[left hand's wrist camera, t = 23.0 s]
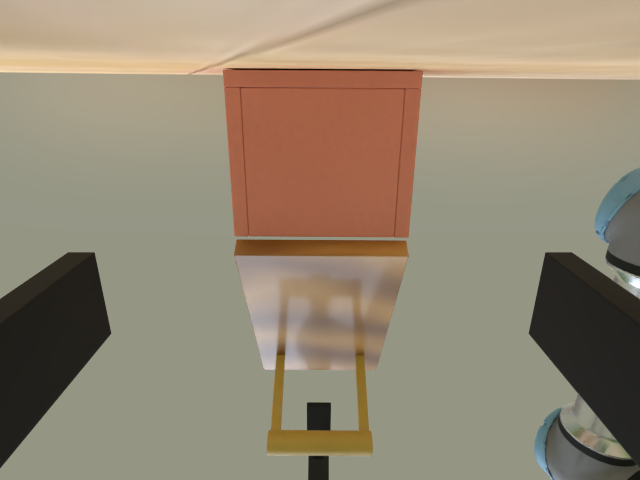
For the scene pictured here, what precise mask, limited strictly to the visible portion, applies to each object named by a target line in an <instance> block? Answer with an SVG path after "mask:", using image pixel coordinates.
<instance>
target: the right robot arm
mask: <svg viewBox="0 0 640 480" xmlns="http://www.w3.org/2000/svg"><path fill="white" fill-rule="evenodd" d="M595 229H596V230H597V231H596V234H597V235H598V237H599V238H600V239H602V240H603V241H604V242H606V243H609V246H608V250H607V254H606V257H605V261H606V263H607V264H608V265H609V267H610V268H611V269H612V270H613V272H614V275H613V278H612V280H613V281H614V282H616V283H617V284H619V285H620V286H622V287H623V288H624V289H626V290H627V291H629V292H630V293H632V294H633V295H635V296H636V297H638V298H639V299H640V168H637V169H635V170H633V171H631V172H629V173H628V174H626V175H625V176H623V177H622V178H621V179H620V180H619V181H618V182H617V183H616V184H615V185H614V186H613V187H612V188H611V189H610V190H609V192H608V193H607V194H606V196H605V197H604V199H603V201H602V203H601V205H600V207H599V209H598V212H597V214H596V218H595ZM330 420H331V403H307V430H330ZM534 451H535V457H536V460H537V462H538V464H539V465H540V467H541V468H542V469H543V470H544V471H545V472H546V473H547V474H548V475H549V476H550V478H551V479H552V480H640V468H639V467H638V465H637V464H636V463H635V462H634V461H633V459H632V458H631V457H630V456H629V455H628V453H627V452H626V451H625V450H624V448H623V447H622V446H621V445H620V444H619V442H618V441H617V440H616V439H615V438H614V436H613V435H612V434H611V433H610V431H609V430H608V429H607V428H606V427H605V425H604V424H603V423H602V422H601V421H600V419H599V418H598V417H597V416H596V415H595V413H594V412H593V411H592V410H591V408H590V407H589V406H588V405H587V404H586V402H585V401H584V400H583V399H582V398H581V396H580V395H579V394H577V397H576V401H575V402H574V403H570V404H567V405H565V406H564V407H562V408H559V409H556V410H555V411H553V412H552V413H550V414H549V415H548V416H547V417H546V419H545V420H544V425H543V426H540V428H539V430H538V432H537V435H536V438H535V445H534ZM308 470H309V471H308V480H329V456H309V469H308Z"/></svg>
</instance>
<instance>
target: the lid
mask: <svg viewBox="0 0 640 480" xmlns="http://www.w3.org/2000/svg"><path fill="white" fill-rule="evenodd" d="M234 256H235V260H236V264H237V268H238V272H239V276H240V279H241V283H242V287H243V291H244V295H245V299H246V302H247V306H248V310H249V314H250V318H251V321H252V325H253V329H254V333H255V337H256V340H257V344H258V348H259V352H260V356H261V360H262V363H263V367H264V369H267V370H275V380H274V393H273V407H272V421H271V430H269V432H268V438H267V454H268V455H288V456H372V452H373V443H372V433H371V431H369V424H368V408H367V392H366V376H365V370H376V369H377V365H378V362H379V358H380V355H381V351H382V348H383V344H384V341H385V337H386V334H387V330H388V327H389V323H390V320H391V316H392V313H393V309H394V306H395V302H396V299H397V295H398V292H399V288H400V285H401V281H402V278H403V274H404V271H405V267H406V264H407V260H408V257H409V255H408V249H407V242H406V241H369V240H237V241H236V246H235V253H234ZM284 370H356V382H357V403H358V424H359V431H332V430H281V418H282V402H283V385H284Z"/></svg>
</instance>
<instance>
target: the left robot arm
mask: <svg viewBox="0 0 640 480" xmlns="http://www.w3.org/2000/svg"><path fill="white" fill-rule="evenodd" d="M110 334H111V330H110V325H109V321H108V316H107V311H106V306H105V301H104V296H103V292H102V286H101V282H100V277H99V272H98V267H97V262H96V258H95V253H94V252H93V253H91V252H79V253H77V252H75V253H74V252H68V253H67V254H65V255H64V256H62V257H61V258H59V259H58V260H56V261H55V262H54V263H52V264H51V265H49V266H48V267H46V268H45V269H43V270H42V271H40V272H39V273H38V274H36V275H35V276H33V277H32V278H30V279H29V280H27V281H26V282H24V283H23V284H21V285H20V286H18V287H17V288H16V289H14V290H13V291H11V292H10V293H8V294H7V295H5V296H4V297H2V298H1V299H0V468H1V467H2V465H3V464H4V463H5V462H6V461H7V459H8V458H9V457H10V456H11V455H12V453H13V452H14V451H15V450H16V448H17V447H18V446H19V445H20V444H21V442H22V441H23V440H24V439H25V438H26V436H27V435H28V434H29V433H30V431H31V430H32V429H33V428H34V427H35V425H36V424H37V423H38V422H39V420H40V419H41V418H42V417H43V416H44V414H45V413H46V412H47V411H48V410H49V408H50V407H51V406H52V405H53V404H54V402H55V401H56V400H57V399H58V398H59V396H60V395H61V394H62V393H63V391H64V390H65V389H66V388H67V386H68V385H69V384H70V383H71V382H72V381H73V379H74V378H75V377H76V376H77V374H78V373H79V372H80V371H81V370H82V368H83V367H84V366H85V365H86V364H87V362H88V361H89V360H90V359H91V357H92V356H93V355H94V354H95V353H96V351H97V350H98V349H99V348H100V347H101V345H102V344H103V343H104V342H105V340H106V339H107V338H108V337H109V336H110ZM529 334H530V336H531V337H532V338H533V339H534V340H535V342H536V343H537V344H538V345H539V347H540V348H541V349H542V350H543V351H544V353H545V354H546V355H547V356H548V357H549V359H550V360H551V361H552V362H553V364H554V365H555V366H556V367H557V368H558V370H559V371H560V372H561V373H562V374H563V376H564V377H565V378H566V379H567V381H568V382H569V383H570V384H571V385H572V387H573V388H574V389H575V390H576V391H577V393H578V394H579V395H580V396H581V398H582V399H583V400H584V401H585V402H586V404H587V405H588V406H589V407H590V408H591V410H592V411H593V412H594V413H595V415H596V416H597V417H598V418H599V419H600V421H601V422H602V423H603V424H604V425H605V427H606V428H607V429H608V430H609V431H610V433H611V434H612V435H613V436H614V438H615V439H616V440H617V441H618V442H619V444H620V445H621V446H622V447H623V448H624V450H625V451H626V452H627V453H628V455H629V456H630V457H631V458H632V459H633V461H634V462H635V463H636V464H637V465H638V467H639V468H640V299H639V298H638V297H636V296H635V295H633V294H632V293H630V292H629V291H627V290H626V289H624V288H623V287H622V286H620V285H619V284H617V283H616V282H614V281H613V280H611V279H610V278H608V277H607V276H605V275H604V274H603V273H601V272H600V271H598V270H597V269H595V268H594V267H592V266H591V265H589V264H588V263H586V262H585V261H584V260H582V259H581V258H579V257H578V256H576V255H575V254H573V253H570V252H569V253H567V252H566V253H565V252H564V253H563V252H561V253H560V252H559V253H558V252H557V253H555V252H554V253H553V252H548V253H545V258H544V262H543V267H542V272H541V277H540V282H539V287H538V291H537V296H536V301H535V306H534V311H533V316H532V320H531V325H530V330H529Z"/></svg>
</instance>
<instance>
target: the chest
mask: <svg viewBox="0 0 640 480" xmlns="http://www.w3.org/2000/svg"><path fill="white" fill-rule="evenodd" d="M422 74H423V72H422V71H341V70H223V78H224V87H225V88H224V91H225V105H226V120H227V134H228V148H229V163H230V177H231V191H232V206H233V220H234V235H235V236H296V237H299V236H300V237H408V236H409V225H410V213H411V202H412V190H413V178H414V167H415V155H416V143H417V131H418V120H419V108H420V97H421V89H420V88H421V86H422Z"/></svg>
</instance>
